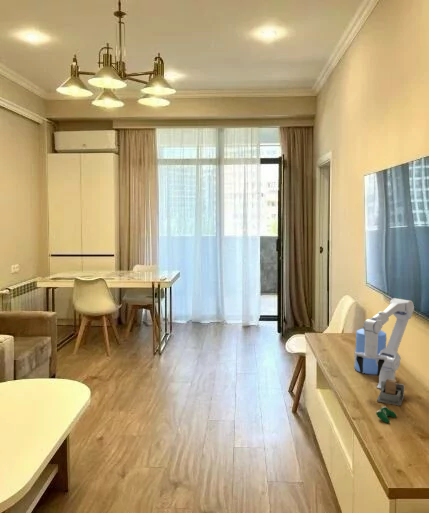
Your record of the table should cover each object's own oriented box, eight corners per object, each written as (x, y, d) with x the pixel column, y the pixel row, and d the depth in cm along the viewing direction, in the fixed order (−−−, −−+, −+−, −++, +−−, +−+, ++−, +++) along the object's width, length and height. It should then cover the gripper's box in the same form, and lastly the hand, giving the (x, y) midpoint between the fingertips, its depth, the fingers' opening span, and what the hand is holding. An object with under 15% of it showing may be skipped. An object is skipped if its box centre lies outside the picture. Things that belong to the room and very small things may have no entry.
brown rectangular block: (386, 395, 231) (387, 378, 230) (395, 397, 229) (396, 380, 228) (385, 398, 227) (385, 381, 226) (394, 400, 225) (395, 382, 225)
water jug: (388, 375, 263) (391, 322, 260) (358, 374, 263) (361, 322, 261) (379, 366, 278) (382, 316, 276) (351, 365, 279) (353, 315, 276)
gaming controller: (391, 420, 211) (381, 407, 213) (397, 415, 209) (388, 403, 211) (382, 426, 204) (372, 414, 206) (389, 422, 202) (379, 409, 204)
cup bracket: (381, 393, 236) (381, 380, 236) (403, 397, 232) (404, 384, 231) (376, 401, 226) (377, 388, 225) (400, 405, 221) (401, 392, 221)
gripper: (353, 345, 234) (352, 373, 235) (386, 349, 227) (384, 378, 228) (356, 341, 240) (355, 369, 241) (388, 345, 233) (387, 374, 235)
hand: (369, 373), depth 235 cm, fingers open, 7 cm apart
